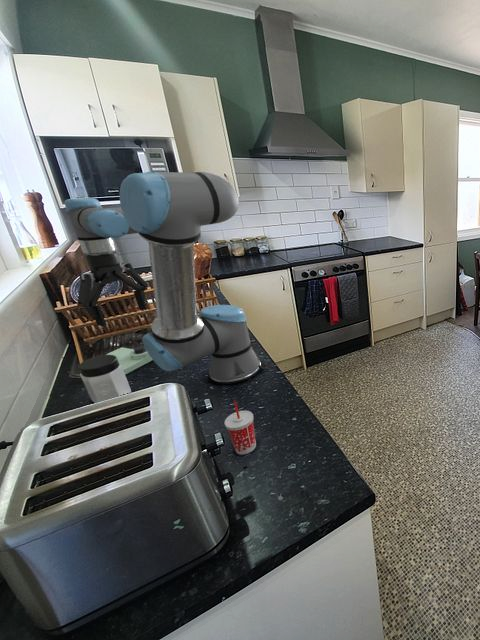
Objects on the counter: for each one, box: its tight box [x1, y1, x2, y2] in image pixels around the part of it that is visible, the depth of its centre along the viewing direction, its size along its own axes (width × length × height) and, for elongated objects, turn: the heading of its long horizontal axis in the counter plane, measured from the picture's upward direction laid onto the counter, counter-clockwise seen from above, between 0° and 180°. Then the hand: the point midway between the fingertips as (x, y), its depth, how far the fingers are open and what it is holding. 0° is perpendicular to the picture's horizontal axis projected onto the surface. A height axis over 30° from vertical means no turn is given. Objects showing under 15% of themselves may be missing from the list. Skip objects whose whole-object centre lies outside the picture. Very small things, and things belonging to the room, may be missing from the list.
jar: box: [77, 354, 132, 404], centre depth 99 cm, size 9×8×12 cm
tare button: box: [133, 345, 146, 354], centre depth 119 cm, size 3×3×2 cm
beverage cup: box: [224, 400, 257, 455], centre depth 83 cm, size 6×6×14 cm
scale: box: [105, 347, 154, 376], centre depth 118 cm, size 15×12×4 cm
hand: (124, 316), depth 113 cm, fingers open, 13 cm apart
